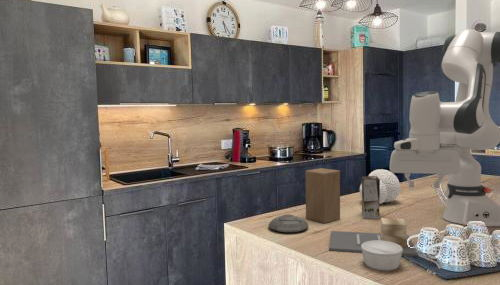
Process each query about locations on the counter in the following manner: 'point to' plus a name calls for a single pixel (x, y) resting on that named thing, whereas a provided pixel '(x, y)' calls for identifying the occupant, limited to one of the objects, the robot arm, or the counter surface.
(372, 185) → the coffee box
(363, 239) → the rubber mat
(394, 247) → the ramekin
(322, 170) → the wooden block
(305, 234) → the counter surface
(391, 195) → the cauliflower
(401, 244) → the maple cube
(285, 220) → the flying saucer
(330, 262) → the counter surface
